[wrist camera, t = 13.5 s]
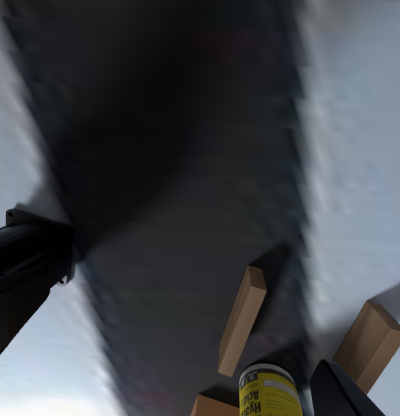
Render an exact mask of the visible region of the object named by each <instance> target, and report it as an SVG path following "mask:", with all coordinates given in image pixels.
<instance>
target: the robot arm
mask: <svg viewBox="0 0 400 416" xmlns="http://www.w3.org/2000/svg"><path fill="white" fill-rule="evenodd" d="M66 230H68V232H67V231H66ZM73 234H74V230H73V228H72V227H71V226H70V225H66V224H63V223H60V222H57V221H53V220H50V219H47V218H43V217H40V216H37V215H34V214H30V213H27V212H24V211H20V210H17V209H10V210H7V211H6V226H4V227H1V228H0V354H1V353H2V352H3V351H4V349H5V348H6V347H7V346H8V345H9V343H10V342H11V341H12V340H13V338H14V337H15V336H16V335H17V333H18V332H19V331H20V329H21V328H22V327H23V326H24V325H25V324H26V322H27V321H28V320H29V319H30V318H31V317H32V315H33V314H34V313H35V312H36V311H37V310H38V308H39V307H40V306H41V305H42V304H43V303H44V301H45V300H46V299H47V298H48V296H49V293H50V288H52V287H53V286H54V285H55V284H56V285H59V286H65V285H66V284H68V283H69V277H70V272H71V263H72V252H73V251H72V245H73ZM310 389H311V395H312V402H313V409H314V415H315V416H385V415H384V414H383V413H382V411H381V410H380V409H379V408H378V407H377V406H376V405H375V404H374V403H373V402H372V401H371V400H370V399H369V397H368V396H367V395H366V394H365V393H364V392H363V391H362V390H361V389H360V388H359V387H358V386H357V384H356V383H355V382H354V381H353V380H352V379H351V378H350V377H349V376H348V375H347V374H346V373H345V371H344V370H343V369H342V368H341V367H340V366H339V365H338V364H337V363H335V362H332V361H328V360H325V359H322V360H321V361H320V362H319V364H318V365H317V367H316V369H315V371H314V373H313V374H312V376H311V379H310Z"/></svg>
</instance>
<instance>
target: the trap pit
mask: <svg viewBox="0 0 400 416" xmlns="http://www.w3.org/2000/svg"><path fill="white" fill-rule="evenodd" d="M191 416H240V408H237V407H235V406H232V405H229V404H226V403H223V402H220V401H217V400H214V399H211V398H208V397H205V396H202V395H199V394H198V396H197V399H196V402H195V405H194V407H193V410H192V413H191Z"/></svg>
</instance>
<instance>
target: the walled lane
mask: <svg viewBox="0 0 400 416" xmlns="http://www.w3.org/2000/svg"><path fill="white" fill-rule="evenodd" d="M266 292H267V289H266V285H265V280H264V276H263V272H262V269H259V268H256V267H253V266H249V265H248V267H247V270H246V273H245V276H244V278H243V281H242V284H241V287H240V289H239V292H238V295H237V297H236V300H235V303H234V306H233V308H232V311H231V314H230V317H229V319H228V322H227V325H226V328H225V330H224V333H223V336H222V339H221V341H220V349H219V365H218V373H221V374H224V375H227V376H230V377H232V375H233V372H234V370H235V368H236V365H237V363H238V360H239V358H240V355H241V353H242V350H243V348H244V346H245V343H246V341H247V338H248V336H249V333H250V331H251V329H252V326H253V324H254V321H255V319H256V316H257V314H258V311H259V309H260V307H261V304H262V302H263V299H264V297H265V294H266ZM399 347H400V325H399V324H398V323H397V321H396V320H395V319H394V318H393V317H392V316H391V315H390V314H389V313H388V312H387V311H386V310H385V309H384V308H383V307H382V305H379V304H376V303H372V302H369V301H366V303H365V305H364V306H363V308H362V310H361V311H360V313H359V315H358V317H357V318H356V320H355V322H354V324H353V325H352V327H351V329H350V331H349V332H348V334H347V336H346V337H345V339H344V341H343V343H342V344H341V346H340V348H339V350H338V351H337V353H336V355H335V357H334V358H333V360H332V362H335V363H337V364H338V365H339V366H340V367H341V368H342V369H343V370H344V371H345V373H346V374H347V375H348V376H349V377H350V378H351V379H352V380H353V381H354V382H355V383H356V384H357V386H358V387H359V388H360V389H361V390H362V391H363V392H364V393H365V394H366V395H367V394H368V392H369V391H370V389H371V388H372V386H373V385H374V383H375V382H376V380H377V379H378V378H379V376H380V375H381V373H382V372H383V370H384V369H385V367H386V366H387V364H388V363H389V361H390V360H391V358H392V357H393V355H394V354H395V353H396V351H397V350H398V348H399Z"/></svg>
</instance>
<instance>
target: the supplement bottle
mask: <svg viewBox="0 0 400 416" xmlns="http://www.w3.org/2000/svg"><path fill="white" fill-rule="evenodd" d="M239 396H240V416H303V414H302V410H301V406H300V402H299V398H298V394H297V390H296V387H295V383H294V381H293V379H292V377H291V376H290V374H289V373H288V372H286V371H285V370H284V369H282V368H281V367H278V366H276V365H272V364H264V363H261V364H255V365H252V366H250V367H248V368H247V369H246V370H245V371H244V372H243V373H242V375H241V377H240V383H239Z"/></svg>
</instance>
